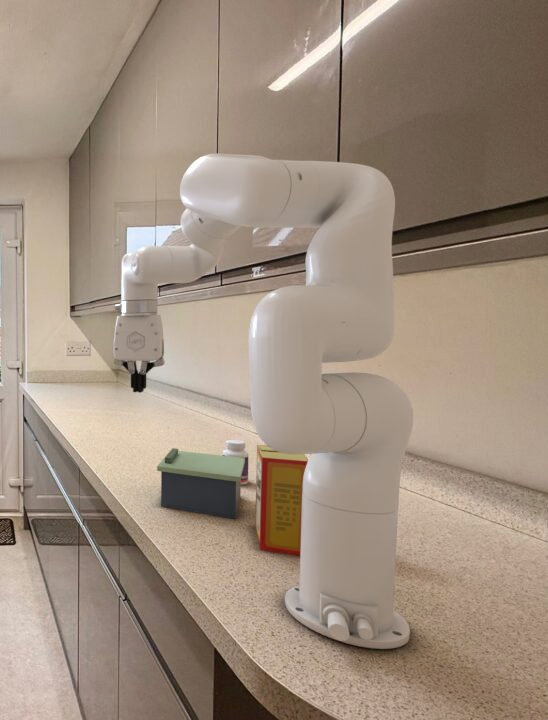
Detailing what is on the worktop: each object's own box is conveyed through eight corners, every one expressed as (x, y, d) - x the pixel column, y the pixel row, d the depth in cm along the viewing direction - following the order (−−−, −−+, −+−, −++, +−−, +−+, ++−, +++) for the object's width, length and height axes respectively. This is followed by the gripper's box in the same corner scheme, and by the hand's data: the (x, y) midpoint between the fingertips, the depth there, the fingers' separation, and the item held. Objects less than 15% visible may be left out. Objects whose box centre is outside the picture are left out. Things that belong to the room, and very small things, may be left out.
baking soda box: (306, 556, 80) (309, 459, 79) (260, 549, 83) (262, 455, 82) (297, 534, 88) (300, 445, 87) (255, 528, 91) (257, 442, 90)
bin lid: (240, 482, 94) (240, 470, 94) (157, 470, 102) (157, 460, 102) (244, 462, 107) (245, 452, 106) (170, 454, 115) (170, 444, 114)
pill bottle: (244, 479, 119) (244, 439, 118) (251, 486, 114) (252, 444, 113) (219, 477, 120) (220, 438, 120) (225, 484, 115) (226, 443, 115)
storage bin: (235, 519, 95) (236, 480, 95) (161, 506, 103) (161, 470, 102) (240, 497, 107) (241, 463, 106) (173, 487, 114) (173, 455, 114)
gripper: (100, 310, 110) (100, 391, 111) (172, 307, 102) (171, 396, 103) (110, 310, 116) (109, 387, 118) (178, 308, 108) (177, 391, 109)
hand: (138, 391), depth 110 cm, fingers closed
